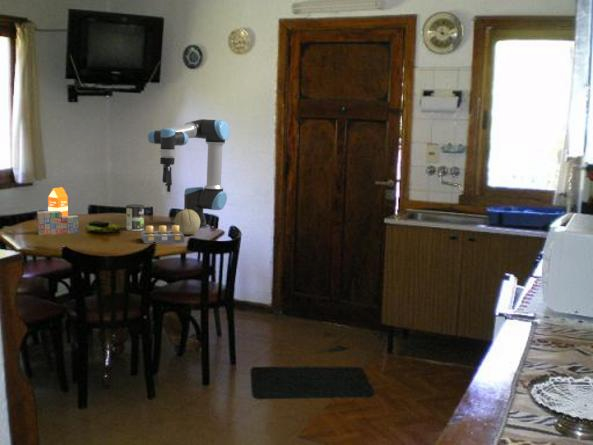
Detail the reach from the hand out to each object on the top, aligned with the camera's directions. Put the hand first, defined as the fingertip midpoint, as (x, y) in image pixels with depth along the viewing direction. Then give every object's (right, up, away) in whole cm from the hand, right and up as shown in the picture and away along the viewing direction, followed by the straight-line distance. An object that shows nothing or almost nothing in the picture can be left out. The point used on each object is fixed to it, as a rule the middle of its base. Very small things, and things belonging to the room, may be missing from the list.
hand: (166, 196), depth 387 cm
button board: (-2, -24, -1) cm, 24 cm away
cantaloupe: (+8, -21, +19) cm, 30 cm away
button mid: (-2, -21, -2) cm, 21 cm away
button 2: (+5, -21, +1) cm, 22 cm away
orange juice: (-75, -13, +48) cm, 90 cm away
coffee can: (-24, -19, +28) cm, 41 cm away
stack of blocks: (-62, -21, +8) cm, 66 cm away
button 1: (-9, -21, -4) cm, 23 cm away
